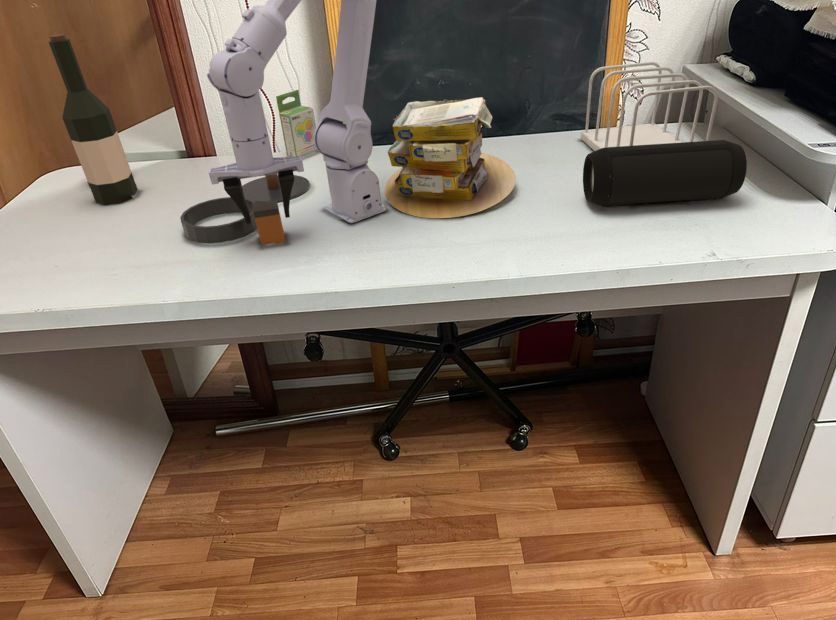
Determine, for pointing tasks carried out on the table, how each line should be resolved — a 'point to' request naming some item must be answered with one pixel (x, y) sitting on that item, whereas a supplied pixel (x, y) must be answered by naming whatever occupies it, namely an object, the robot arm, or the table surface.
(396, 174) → the stacked yellow boxes
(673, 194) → the portable speaker
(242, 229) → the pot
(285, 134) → the ink box
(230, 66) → the robot arm
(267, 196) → the lid
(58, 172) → the table surface
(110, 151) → the wine bottle
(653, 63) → the file sorter
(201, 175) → the table surface
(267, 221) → the spice jar
